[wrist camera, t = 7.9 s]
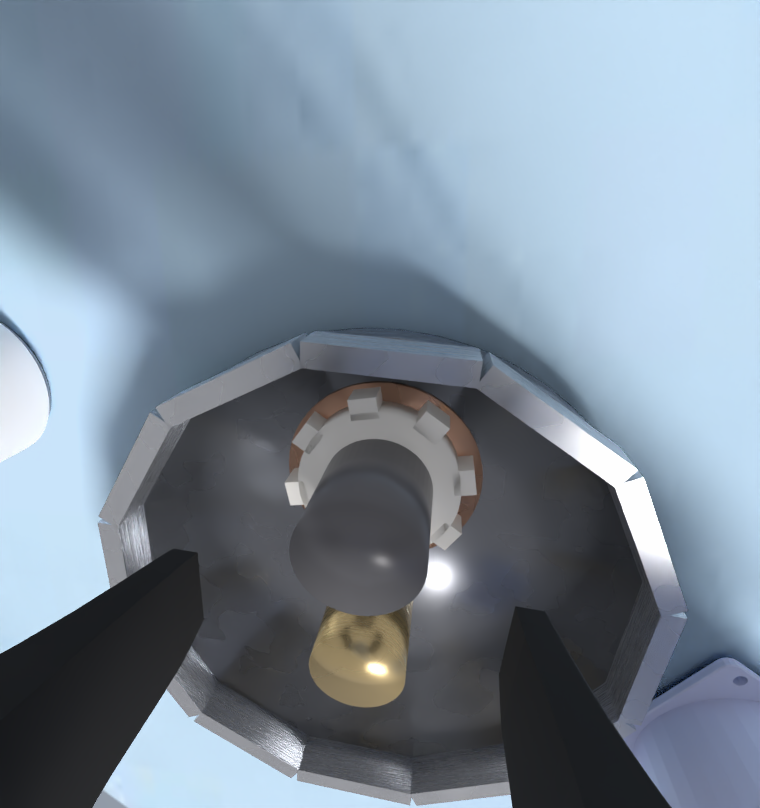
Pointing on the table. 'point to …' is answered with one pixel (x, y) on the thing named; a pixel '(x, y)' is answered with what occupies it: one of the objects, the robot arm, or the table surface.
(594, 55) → the table surface
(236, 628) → the bowl
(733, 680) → the robot arm
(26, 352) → the can
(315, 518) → the gear
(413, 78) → the table surface
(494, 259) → the table surface
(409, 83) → the table surface
